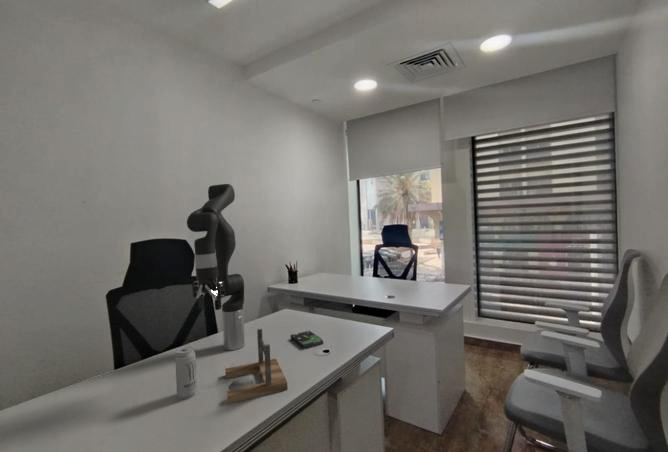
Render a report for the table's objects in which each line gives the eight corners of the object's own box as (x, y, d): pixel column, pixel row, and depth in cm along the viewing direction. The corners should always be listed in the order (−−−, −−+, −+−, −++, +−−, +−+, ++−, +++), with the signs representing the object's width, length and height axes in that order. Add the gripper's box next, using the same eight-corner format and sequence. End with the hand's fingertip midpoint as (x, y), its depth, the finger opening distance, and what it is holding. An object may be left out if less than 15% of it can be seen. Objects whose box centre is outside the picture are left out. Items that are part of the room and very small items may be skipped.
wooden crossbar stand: (225, 375, 116) (223, 334, 116) (276, 364, 123) (274, 325, 123) (228, 403, 97) (225, 354, 97) (287, 389, 104) (285, 343, 104)
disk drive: (290, 340, 149) (303, 350, 136) (289, 335, 149) (303, 344, 136) (309, 336, 154) (324, 345, 142) (309, 330, 154) (323, 338, 142)
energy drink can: (188, 401, 100) (185, 354, 99) (172, 398, 101) (170, 353, 101) (201, 391, 105) (199, 347, 105) (186, 388, 107) (184, 345, 107)
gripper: (184, 267, 115) (188, 310, 116) (212, 267, 109) (216, 313, 110) (201, 264, 122) (204, 305, 123) (228, 264, 116) (231, 307, 116)
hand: (209, 308), depth 116 cm, fingers open, 8 cm apart
